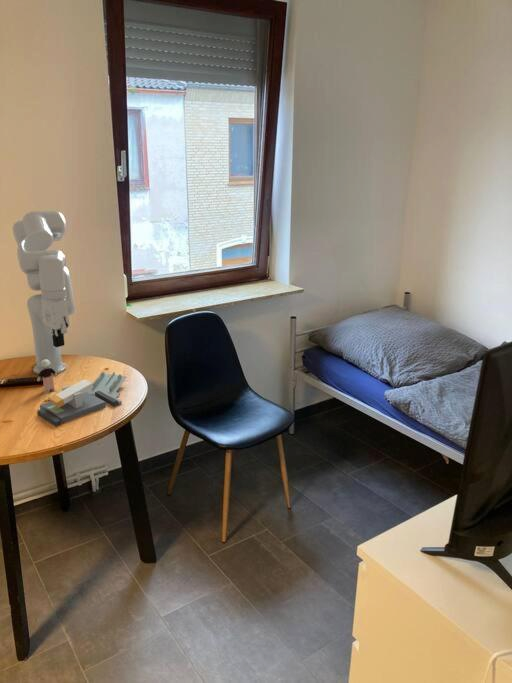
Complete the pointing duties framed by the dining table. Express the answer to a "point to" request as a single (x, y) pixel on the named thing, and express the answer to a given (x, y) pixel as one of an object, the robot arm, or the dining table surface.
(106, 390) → the metal bracket
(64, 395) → the rocker lever
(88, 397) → the panel
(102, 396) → the pair of grey rails
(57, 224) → the robot arm
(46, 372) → the grandmother figurine
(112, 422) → the dining table surface
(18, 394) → the dining table surface
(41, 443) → the dining table surface
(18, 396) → the dining table surface
